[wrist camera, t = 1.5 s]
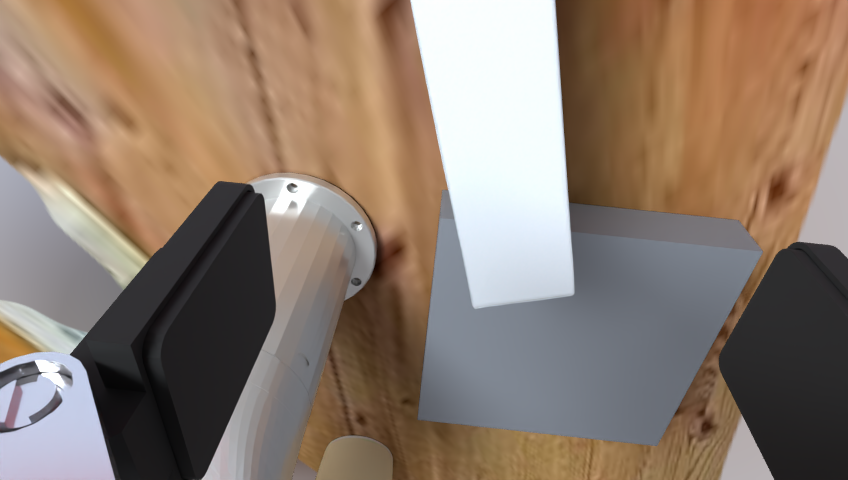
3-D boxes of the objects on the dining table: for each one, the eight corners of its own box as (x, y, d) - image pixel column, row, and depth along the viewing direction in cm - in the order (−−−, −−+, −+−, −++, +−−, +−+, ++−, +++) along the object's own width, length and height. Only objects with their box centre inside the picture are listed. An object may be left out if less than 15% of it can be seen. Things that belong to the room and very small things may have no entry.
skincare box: (539, 153, 37) (577, 302, 24) (463, 165, 38) (460, 314, 25) (503, -235, 26) (537, -350, 13) (396, -205, 27) (326, -282, 14)
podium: (645, 409, 52) (656, 446, 48) (420, 385, 52) (417, 419, 49) (738, 220, 39) (763, 251, 36) (442, 189, 39) (439, 218, 36)
